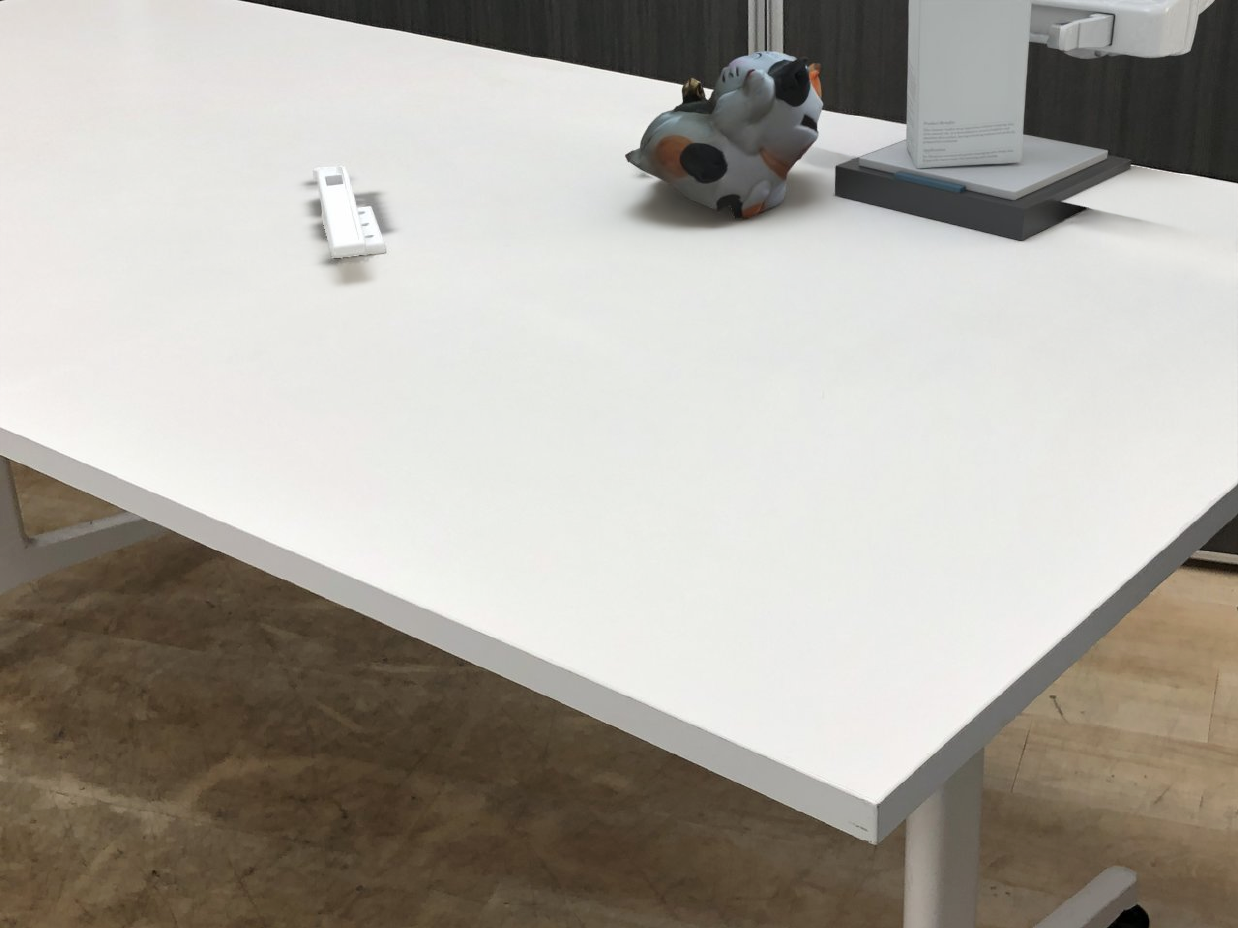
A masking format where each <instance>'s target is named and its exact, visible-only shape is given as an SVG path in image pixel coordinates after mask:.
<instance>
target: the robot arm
mask: <svg viewBox="0 0 1238 928" xmlns="http://www.w3.org/2000/svg"><path fill="white" fill-rule="evenodd" d="M1214 2H1215V0H1032V2H1031V16H1030V33H1029V43H1030V42H1031V43H1037V44H1043V45H1046V47H1047V48H1048V49H1052V50H1056V51H1060V52H1062V53H1063V54H1065V55H1068V56H1070V57H1073V58H1076V59H1080V60H1081V59H1082V60H1092V59H1097V58H1101V57H1104V56H1107V55H1108V56H1110V57H1116V56H1121V55H1124V56H1132V57H1136V58H1137V57H1138V58H1144V59H1145V58H1146V59H1160V58H1165V57H1169V56H1172V57H1173V56H1174V57H1176V56H1182V55H1184V54H1187V53H1189V52H1191V49H1192V47H1193V43H1194V39H1195V36H1196V31H1197V25H1198V20H1199V15H1201V14H1202V13H1203V12H1204V11H1205V10H1206V9H1207V8H1209V7H1210V5H1212V4H1213V3H1214Z"/></svg>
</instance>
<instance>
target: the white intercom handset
mask: <svg viewBox="0 0 1238 928" xmlns="http://www.w3.org/2000/svg"><path fill="white" fill-rule="evenodd" d="M312 176H313V179H314V180H315V181H317V188H318V193H319V194H318V195H319V199H320V206H321V212H322V213H321V222H322V221H323V222H322V226H323V225H324V226H323V229H325V230H324V233H326V234H325V237H326V236H327V238H326V241H327V240H328V242H327V245H328V244H329V245H328V249H329V248H330V249H329V253H330V252H331V253H330V257H331V256H332V257H333V258H341V259H344V258H343V257H348V256H354V255H364V256H368V255H367V254H372V255H380V254H385V252H386V253H387V245H386V242H385V240H384V237H383V235H382V232H381V231H382V230H381V229H380V226H379V223H378V221H377V218H376V215H375V213H374V209H373V207H372V206H371V205H368V206H361V207H359V206H357V202H356V198H355V194H354V191H353V190H354V189H353V186H352V181H351V177H350V174H349V170H348V168H347V167H346V166H342V165H339V164H337V165H331V166H323V167H314V168H313V169H312ZM332 257H331V258H332Z"/></svg>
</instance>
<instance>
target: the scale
mask: <svg viewBox="0 0 1238 928" xmlns="http://www.w3.org/2000/svg"><path fill="white" fill-rule="evenodd" d="M1108 152H1109V151H1108V150H1107V149H1104V148H1103V149H1102V148H1097V147H1091V146H1087V145H1082V144H1076V143H1071V142H1065V141H1060V140H1056V139H1050V138H1045V137H1040V136H1033V135H1029V134H1024V133H1023V142H1022V157H1021V162H1018V163H1005V164H980V165H964V166H947V167H931V168H919V169H917V168H916V167H915V165H914V162H913V160H912V157H911V155H910V153H909V150H908V148H907V146H906V139H903V140H899V141H898V142H895V143H893V144H890V145H887V146H884V147H881V148H879V149H876V150H874V151H871V152H869V153H865V154H863V155H861V156H858V157H855V158H853V159H849V160H847V161H845V162H842V163H840V164H836V165H835V167H834V169H835V170H834V196H837V197H841V198H846V199H848V200H854V201H858V202H862V203H866V204H870V205H873V206H877V207H881V208H887V209H890V210H895V211H899V212H902V213H907V214H911V215H915V216H918V217H923V218H928V219H931V220H936V221H939V222H942V223H943V222H944V223H948V224H952V225H956V226H960V227H964V228H969V229H971V230H976V231H980V232H984V233H989V234H993V235H996V236H1000V237H1005V238H1009V239H1013V240H1017V241H1020V242H1021V241H1024V240H1026V239H1028V238H1030V237H1033V236H1034V235H1037V234H1038V233H1040V232H1042V231H1044V230H1047V229H1048V228H1051V227H1053V226H1055V225H1057V224H1059V223H1062V222H1063V221H1066V220H1068V219H1069V218H1072V217H1074V216H1075V215H1078V214H1080V213H1082V212H1084V211H1086V210H1088V209H1089V207H1088V206H1083V205H1078V204H1074V203H1070V202H1065V200H1067V199H1069V198H1072V197H1073V196H1076V195H1077V194H1080V193H1083V192H1084V191H1087V190H1089V189H1091V188H1093V187H1095V186H1098V185H1100V184H1101V183H1104V182H1106V181H1108V180H1110V179H1112V178H1115V177H1116V176H1118V175H1120V174H1123V173H1125V172H1127V171H1129V170H1131V168H1132V159H1130V158H1125V157H1120V156H1115V155H1109V153H1108Z"/></svg>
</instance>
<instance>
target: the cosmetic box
mask: <svg viewBox="0 0 1238 928" xmlns="http://www.w3.org/2000/svg"><path fill="white" fill-rule="evenodd" d="M1031 2H1032V0H908V32H907V33H908V34H907V35H908V39H907V41H908V42H907V48H908V49H907V84H906V85H907V87H906V88H907V89H906V90H907V91H906V129H905V131H906V133H905V135H906V136H905V140H906V146H907V148H908V150H909V153H910V155H911V157H912V160H913V162H914V165H915V167H916V168H917V169H919V168H931V167H947V166H964V165H980V164H1005V163H1018V162H1021V157H1022V142H1023V134H1024V122H1025V107H1026V90H1027V76H1028V60H1029V47H1030V41H1029V33H1030V16H1031Z"/></svg>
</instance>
